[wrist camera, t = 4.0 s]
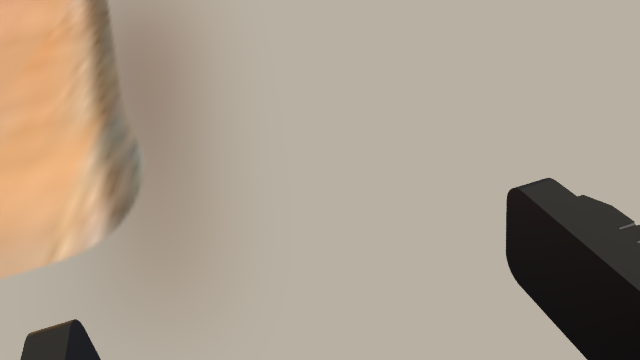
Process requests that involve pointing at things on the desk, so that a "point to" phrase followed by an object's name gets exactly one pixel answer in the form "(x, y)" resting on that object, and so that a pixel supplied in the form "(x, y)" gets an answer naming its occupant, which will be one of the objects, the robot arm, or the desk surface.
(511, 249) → the robot arm
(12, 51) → the desk surface
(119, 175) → the desk surface
